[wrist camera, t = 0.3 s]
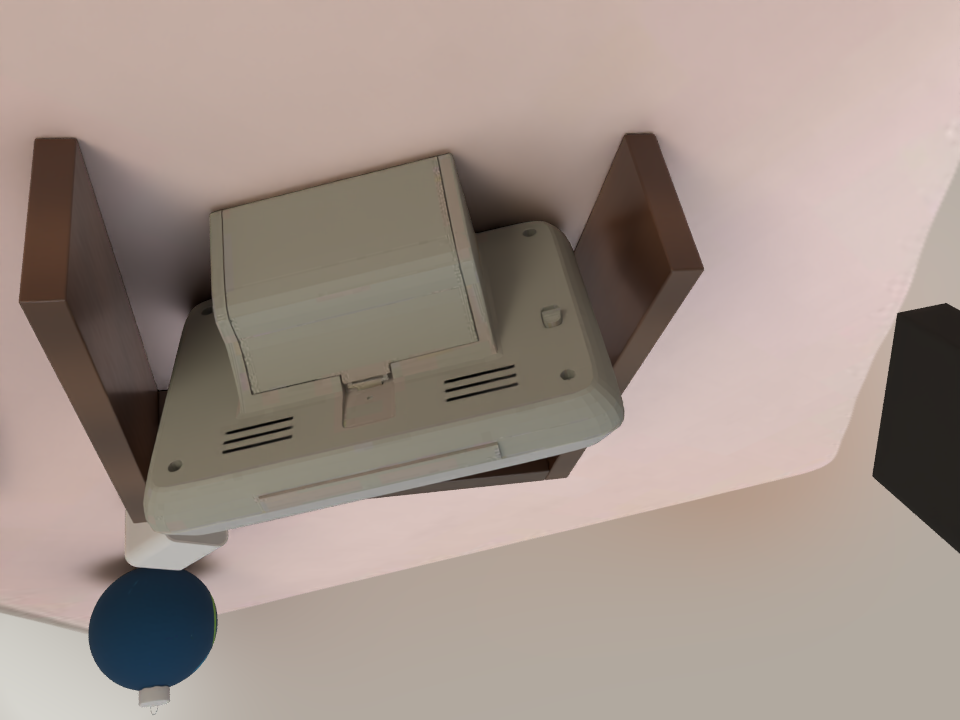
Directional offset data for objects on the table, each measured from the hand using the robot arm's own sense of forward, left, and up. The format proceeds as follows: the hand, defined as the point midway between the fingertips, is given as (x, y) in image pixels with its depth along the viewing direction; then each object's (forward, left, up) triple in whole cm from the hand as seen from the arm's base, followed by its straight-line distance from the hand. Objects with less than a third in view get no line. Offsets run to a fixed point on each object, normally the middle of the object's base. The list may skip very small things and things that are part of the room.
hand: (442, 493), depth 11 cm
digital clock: (+17, +2, -17) cm, 24 cm away
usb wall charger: (+39, -7, -17) cm, 43 cm away
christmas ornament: (+54, -11, -17) cm, 57 cm away
